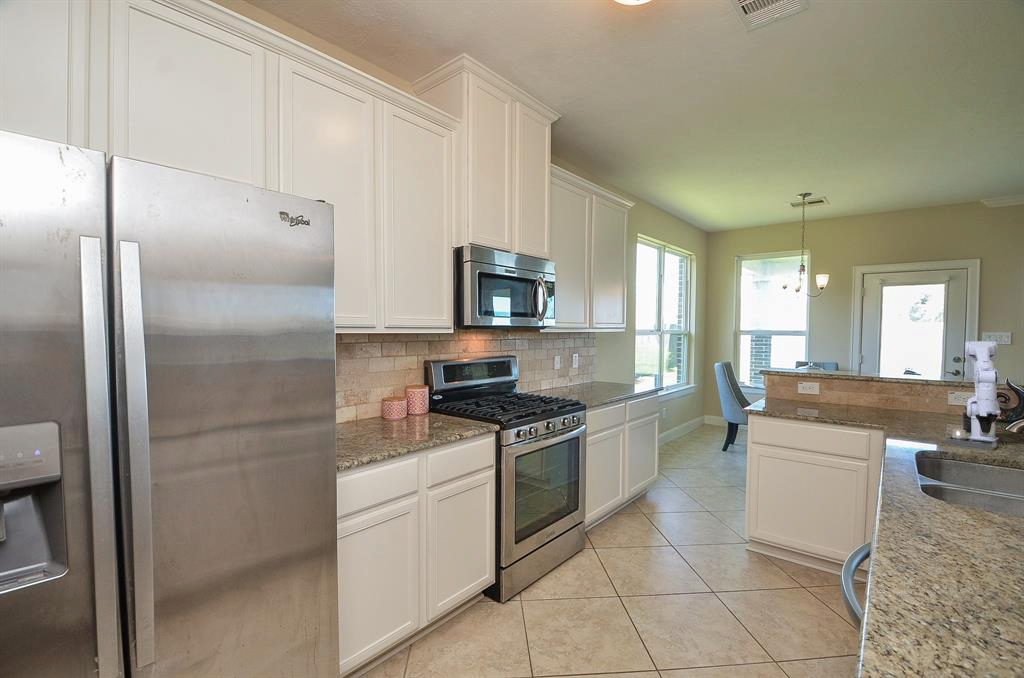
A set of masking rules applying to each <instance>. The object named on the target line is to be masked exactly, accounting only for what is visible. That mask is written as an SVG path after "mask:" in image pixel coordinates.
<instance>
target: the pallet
mask: <svg viewBox="0 0 1024 678" xmlns="http://www.w3.org/2000/svg"><path fill="white" fill-rule="evenodd" d="M945 445H950V446H955V447H956V446H957V447H963V448H972V449H979V450H985V449H986V451H993V450H995V449H996V448H997V441H987V440H979V439H971V438H969V437H966V441H964V440H956V439H953V435H952V436H949V437H946V438H945Z"/></svg>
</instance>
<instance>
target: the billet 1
mask: <svg viewBox="0 0 1024 678" xmlns="http://www.w3.org/2000/svg"><path fill="white" fill-rule="evenodd" d="M952 436H953V439H956V440H964V441H966V438H967V432H966V430H963V428H962V429H961V428H952Z"/></svg>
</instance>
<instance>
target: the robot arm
mask: <svg viewBox="0 0 1024 678" xmlns="http://www.w3.org/2000/svg"><path fill="white" fill-rule="evenodd" d="M964 352H965V359H966V361H968V362H970V363H971V364H972V366H973V376H974V377H973V378H974V396H972V397H970V398H968V399H967V402H966V407H967V416H969V417H971V433H970V435H969V437H968V438H969V439H977V440H985V441H993V442H997V440H999V437H996V421H997V420H998V419H999V418H1000V415H1001V412H1002V411H1001V410H1000V405H999V404H1000V403H999V401H998V400H997V399H998V398H997V396H998V394H997V391H998V390H997V385H998V384H999V373H998V370H997V369H996V368H995V367H996V366H995V363H994V361H995V360H996V358H997V353H998V343H997V341H995V340H993V341H989V340H988V341H983V340H982V341H981V340H978V341H977V340H976V341H973V340H972V341H969V340H967V341H965V342H964ZM992 422H994V437H984V436H980V427H981V431H982V432H984V433H990V430H991V425H992Z"/></svg>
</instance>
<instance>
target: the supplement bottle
mask: <svg viewBox="0 0 1024 678" xmlns="http://www.w3.org/2000/svg"><path fill="white" fill-rule="evenodd" d="M964 408H965V409H964V410H965V411H964V412H963V413H962V429H963V430H966V433H968V432H969V434H971V417H969V416H967V406H965V407H964Z"/></svg>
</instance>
